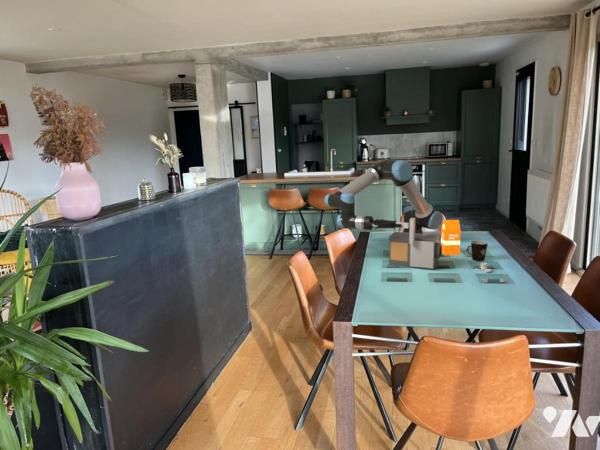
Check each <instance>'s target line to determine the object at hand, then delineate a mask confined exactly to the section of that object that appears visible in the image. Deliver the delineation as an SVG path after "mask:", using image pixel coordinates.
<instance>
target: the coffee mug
mask: <svg viewBox="0 0 600 450" xmlns="http://www.w3.org/2000/svg"><path fill="white" fill-rule="evenodd" d="M488 244H489V243H488V242H487V241H485V240H471V241H470V245H469V246H467V248H466V251H467V253H468V254H469V255H471V260H472V259H473V260H472V261H474V260H475V262H485V259H486V254H487V250H488ZM469 248H471V252H470V251H469Z"/></svg>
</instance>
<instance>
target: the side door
mask: <svg viewBox="0 0 600 450" xmlns="http://www.w3.org/2000/svg"><path fill="white" fill-rule="evenodd" d="M409 244H410V266H413V267H412V268H414V267H422V268H421V269H423V268H432V269H431V270H433V268H434V242H428V241H416V240H415V218H411V219H410V232H409Z"/></svg>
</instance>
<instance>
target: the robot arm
mask: <svg viewBox="0 0 600 450" xmlns="http://www.w3.org/2000/svg"><path fill="white" fill-rule="evenodd" d="M413 170H414V169H413V166H412V164H411V163H410V162H409V161H406V160H403V159H383V160H381V161H379V162H376V163H375V164H373V165H371V166H370V167H369V168H367V170H366V172H365V173H363V174H361V175H360V176H358V177H356V178H355V179H353V180H352V181H351V182H349V183H348V184H347V185H345V186H344V187H342V188H340V189H339V190H337V191H336V192H334V193H328V194H327V195H325V197H324V204H325V206H327V207H329V208H332V209H339V210H340V213H339V214H338V215H337V217H336V226H337V227H338V228H340V229H341V228H342V229H348V230H349V229H350V230H353V229H354V230H359V231H362V230H365V231H371V230H373V228H374V229H393V230H396V228H397V229H402V232H406V233H409V232H410V219H411V218H415V233H420V234H423V233H424V231H423V228H425V229H428V230H436V229H438V228H439V227H440V226H441V225H442V223H443V214H442V212H440V211H439V210H436V209H435V208H434V206H432V204H430V203H428V202H427V200H426V199H425V196H423V194H422V192H421V190H420V189H419V188H418V186H417V184H416V183H415V182H414V180H413V174H414V172H413ZM382 180H391V181H392V182H393V184H394V186H395V187H397V188H398V187H399V188H400V190H401V191H402V193H403V195H404V196H405V198H406V199H407V200H408V202H409V203H410V205H409V206H408V205H407V206H405V207H404V208H403V209H404V210H403V221H402V222H400V221H397V220H388V219H382V218H381V219H378V218H377V219H374V217H373V216H372V215H371V216H370V215H366V216H365V215H359V214H358V215H355V214H356V211H355V209H356V208H355V205H356V204H355V203H356V200H355V195H358V194H359V193H360V192H361V191H363V190H365V189H366V188H368V187H369V186H371V185H372V184H374V183H377V182H380V181H382Z"/></svg>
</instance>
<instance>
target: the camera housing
mask: <svg viewBox="0 0 600 450" xmlns="http://www.w3.org/2000/svg"><path fill="white" fill-rule="evenodd" d="M439 238H440V234H433V233H427V232H423V234H420V233H415V240H416V241H428V242H434V268H433V269H432V268H422V267H413V266H410V244H409V233H406V232H403V231H394V232H392V234H390V235H389V237H388V265H389V266H395V267H396V266H397V267H405V268H415V269H424V270H432V271H433V270H435V269H436V267H437V265H438V263H439V259H440V258H441V257H442V255H443V253H442V244H441V242H440V239H439Z"/></svg>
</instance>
